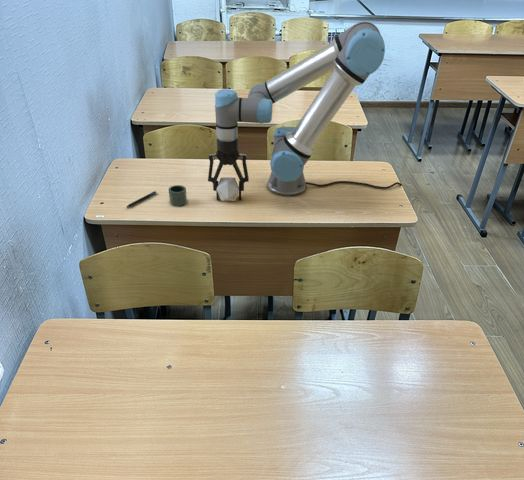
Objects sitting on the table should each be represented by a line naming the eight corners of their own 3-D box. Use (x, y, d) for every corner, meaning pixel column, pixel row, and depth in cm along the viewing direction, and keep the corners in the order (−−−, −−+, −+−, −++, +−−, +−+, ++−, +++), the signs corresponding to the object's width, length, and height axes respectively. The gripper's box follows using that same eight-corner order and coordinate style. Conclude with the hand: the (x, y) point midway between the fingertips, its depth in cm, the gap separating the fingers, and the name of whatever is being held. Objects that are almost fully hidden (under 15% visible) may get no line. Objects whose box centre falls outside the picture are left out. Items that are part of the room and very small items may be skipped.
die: (230, 208, 191) (244, 185, 188) (210, 195, 189) (224, 171, 186) (231, 206, 199) (245, 183, 196) (211, 193, 197) (225, 170, 194)
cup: (187, 198, 195) (186, 185, 191) (186, 206, 190) (185, 192, 186) (171, 198, 195) (169, 185, 191) (169, 206, 190) (167, 192, 186)
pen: (125, 208, 188) (124, 205, 187) (154, 193, 197) (154, 190, 197) (127, 209, 187) (127, 206, 187) (156, 193, 197) (156, 191, 196)
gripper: (256, 134, 183) (255, 194, 198) (198, 134, 182) (202, 193, 197) (256, 142, 177) (256, 203, 193) (197, 142, 176) (201, 202, 192)
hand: (228, 198), depth 195 cm, fingers closed on die, 8 cm apart
